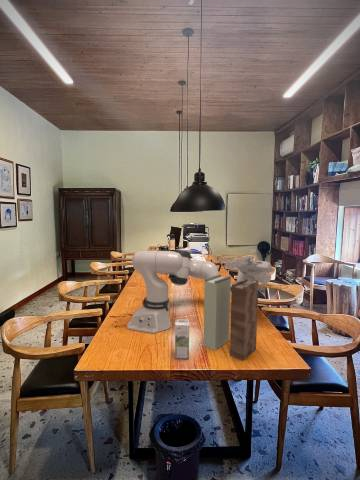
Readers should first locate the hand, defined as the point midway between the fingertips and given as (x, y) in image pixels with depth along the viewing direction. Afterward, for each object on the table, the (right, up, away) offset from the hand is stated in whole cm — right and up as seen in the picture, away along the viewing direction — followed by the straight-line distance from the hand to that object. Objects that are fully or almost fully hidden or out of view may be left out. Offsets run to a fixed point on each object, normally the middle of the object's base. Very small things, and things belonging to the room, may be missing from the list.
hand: (246, 259), depth 140 cm
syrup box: (-33, -38, -26) cm, 57 cm away
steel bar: (-4, -2, -5) cm, 7 cm away
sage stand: (-17, -37, -16) cm, 43 cm away
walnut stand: (-7, -38, -24) cm, 45 cm away
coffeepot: (-6, -25, +97) cm, 101 cm away
